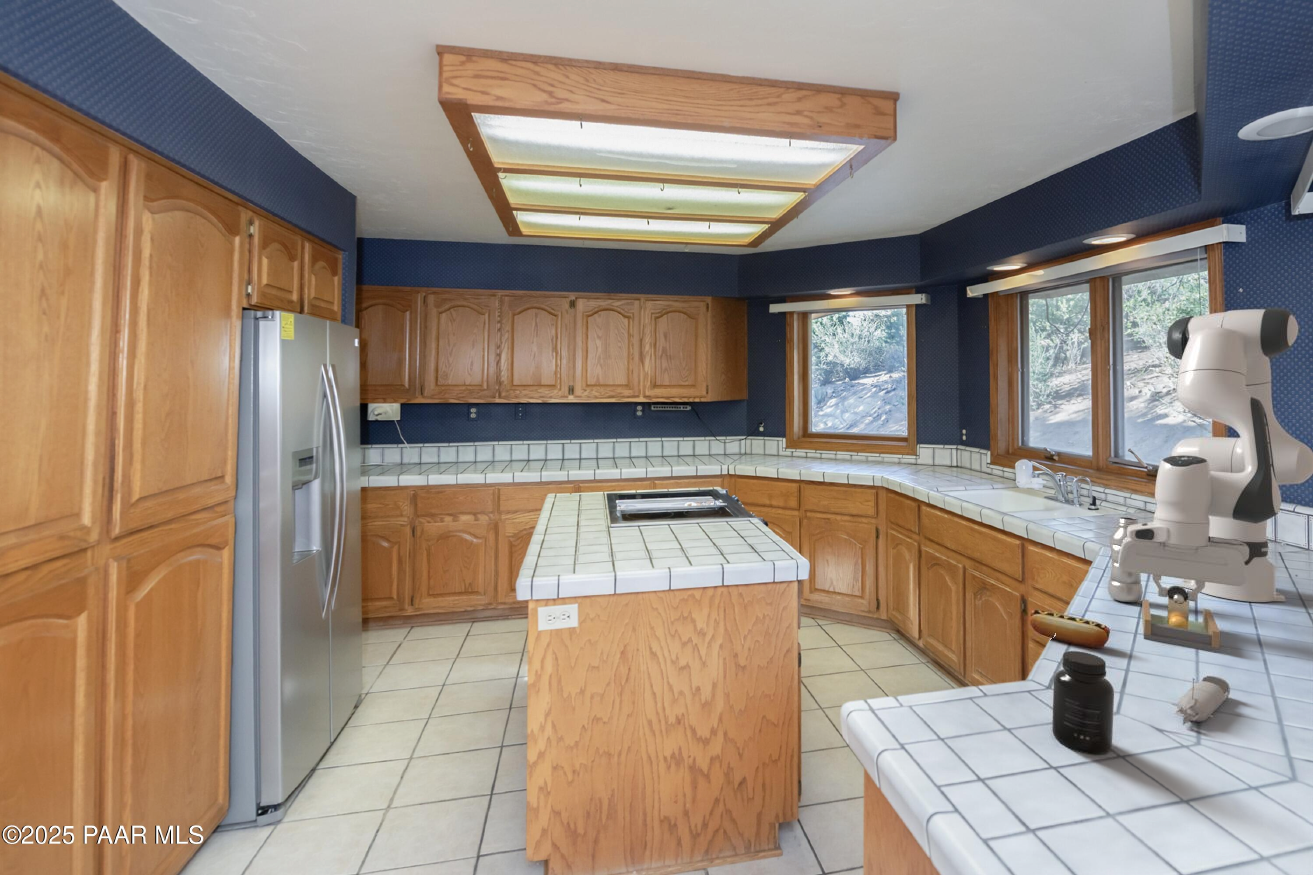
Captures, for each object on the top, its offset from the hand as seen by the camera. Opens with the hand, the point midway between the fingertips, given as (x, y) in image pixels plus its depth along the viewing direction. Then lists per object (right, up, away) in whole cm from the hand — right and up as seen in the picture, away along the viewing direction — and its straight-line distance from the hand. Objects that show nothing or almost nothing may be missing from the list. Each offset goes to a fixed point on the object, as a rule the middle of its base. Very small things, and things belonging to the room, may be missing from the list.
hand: (1176, 598), depth 126 cm
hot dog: (-28, -7, -7) cm, 30 cm away
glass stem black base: (-1, -5, -1) cm, 5 cm away
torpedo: (-26, -8, -34) cm, 44 cm away
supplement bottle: (-51, -9, -43) cm, 67 cm away
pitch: (-3, -6, -3) cm, 8 cm away
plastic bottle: (+2, -6, +17) cm, 18 cm away
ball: (-4, -4, -5) cm, 7 cm away
